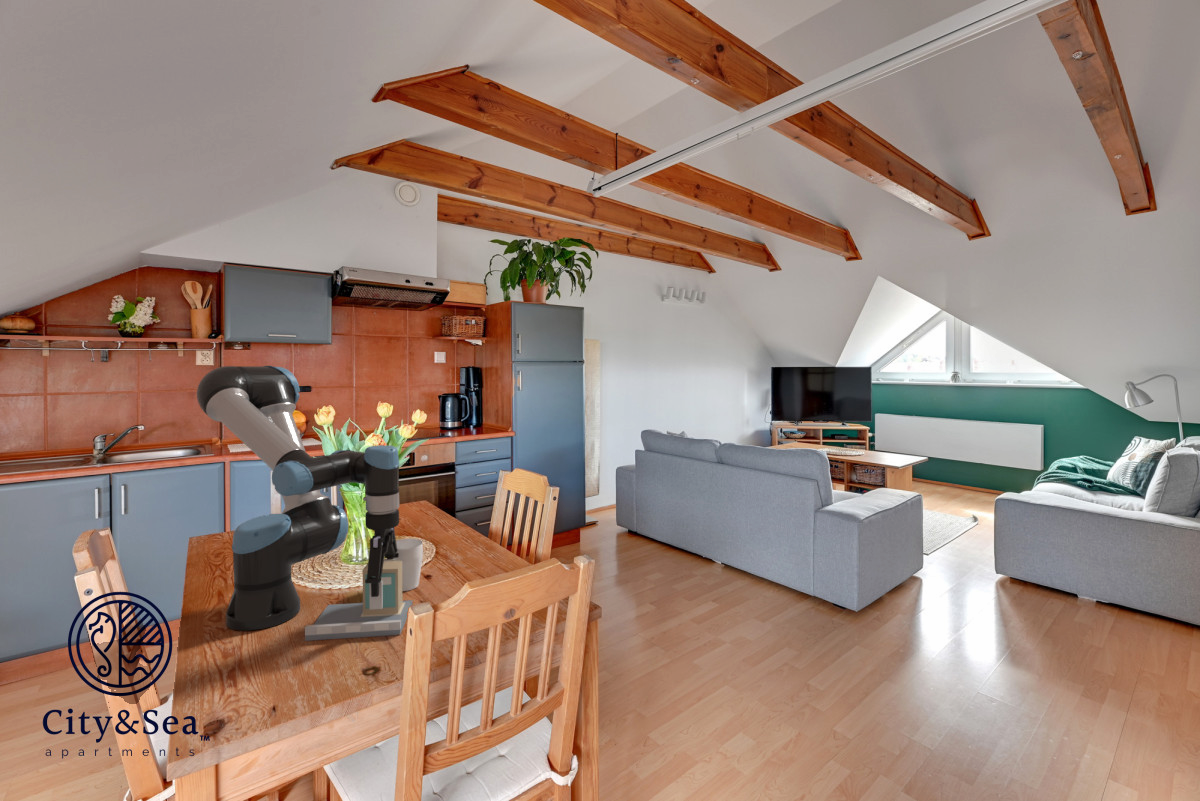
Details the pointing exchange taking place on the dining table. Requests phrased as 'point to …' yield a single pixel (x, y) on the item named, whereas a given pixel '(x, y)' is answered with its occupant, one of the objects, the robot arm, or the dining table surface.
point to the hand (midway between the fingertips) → (383, 595)
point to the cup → (410, 561)
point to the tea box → (386, 589)
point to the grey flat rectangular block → (355, 622)
